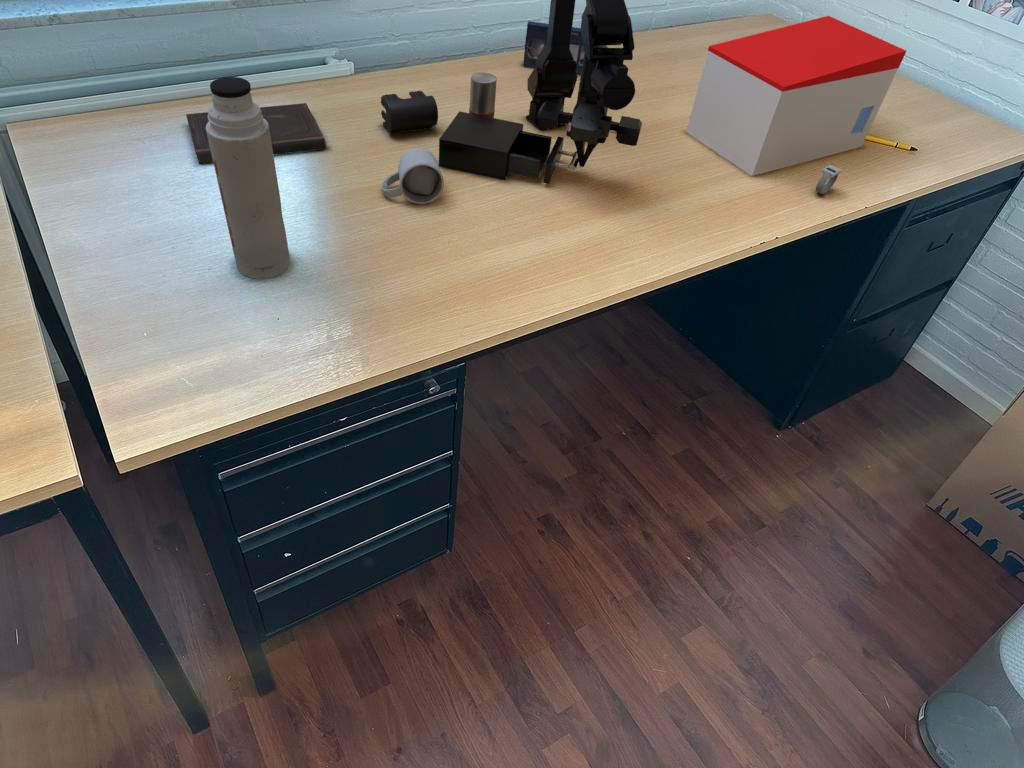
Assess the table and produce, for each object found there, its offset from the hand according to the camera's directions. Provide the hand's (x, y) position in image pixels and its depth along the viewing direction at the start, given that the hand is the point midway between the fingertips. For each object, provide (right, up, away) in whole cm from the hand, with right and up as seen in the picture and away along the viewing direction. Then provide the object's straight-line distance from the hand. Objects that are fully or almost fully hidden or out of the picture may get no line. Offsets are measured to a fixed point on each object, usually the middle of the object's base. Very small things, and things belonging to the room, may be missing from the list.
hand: (581, 166), depth 136 cm
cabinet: (-20, +3, +4) cm, 20 cm away
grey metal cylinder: (-20, +13, +14) cm, 28 cm away
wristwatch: (+49, -3, +7) cm, 50 cm away
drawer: (-9, +1, +2) cm, 9 cm away
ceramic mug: (-31, -7, -7) cm, 33 cm away
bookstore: (+45, +13, +22) cm, 52 cm away
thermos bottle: (-52, -23, -25) cm, 62 cm away
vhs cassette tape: (-2, +35, +39) cm, 53 cm away
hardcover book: (-63, +6, +2) cm, 63 cm away
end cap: (-35, +10, +10) cm, 37 cm away
